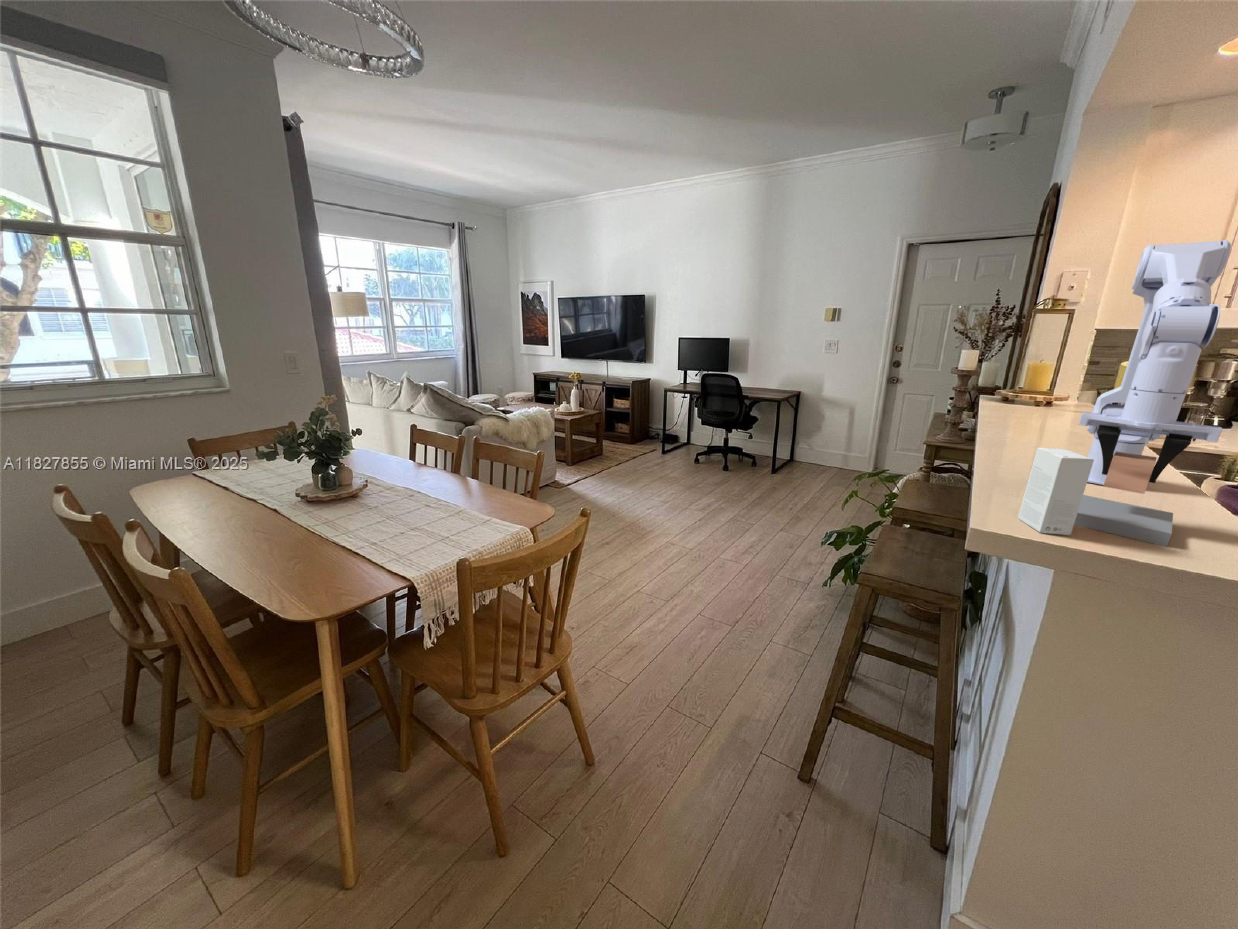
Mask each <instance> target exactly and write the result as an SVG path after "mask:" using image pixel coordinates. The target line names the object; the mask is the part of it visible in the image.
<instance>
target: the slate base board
mask: <svg viewBox="0 0 1238 929" xmlns="http://www.w3.org/2000/svg"><path fill="white" fill-rule="evenodd" d="M1173 517H1174V513H1173V512H1170V511H1166V510H1165V511H1164V510H1161V509H1160V510H1159V509H1155V508H1150V507H1145V506H1141V505H1140V506H1139V505H1135V504H1131V503H1125V502H1120V501H1115V500H1111V499H1105V498H1101V497H1100V498H1099V497H1096V496H1090V495H1086V494H1083V497H1082V500H1081V503H1080V506H1079V510H1078V513H1077V516H1076V519H1075V522H1074V525H1075V526H1077V527H1083V528H1086V529H1092V530H1096V531H1101V532H1104V533H1108V534H1112V535H1116V536H1117V535H1118V536H1120V537H1126V538H1130V539H1133V540H1137V541H1143V542H1146V543H1150V544H1155V545H1159V546H1162V547H1168V544H1169V541H1170V539H1171V536H1172V534H1173V532H1172V531H1173V521H1174V520H1173Z"/></svg>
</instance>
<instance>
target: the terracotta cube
mask: <svg viewBox="0 0 1238 929" xmlns="http://www.w3.org/2000/svg"><path fill="white" fill-rule="evenodd" d="M1157 460H1158V457H1156V456H1150V455H1143V454H1142V455H1138V454H1131V453H1124V452H1117V451H1116V452H1115V454H1114V456H1113V458H1112V461H1111V464H1110V467H1109V471H1108V474H1107V477H1106V480H1105V483H1104V485H1103V487H1105V488H1111V489H1115V490H1122V491H1127V492H1132V493H1137V494H1142V495H1145V494H1146V491H1147V487H1148V484H1149V480H1150V477H1151V474H1152V471H1153V468H1154V466H1155V464H1156V462H1157Z"/></svg>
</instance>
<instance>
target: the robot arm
mask: <svg viewBox="0 0 1238 929" xmlns="http://www.w3.org/2000/svg"><path fill="white" fill-rule="evenodd" d="M1231 249H1232V243H1231V242H1230V241H1229V240H1228V239H1223V240H1219V241H1203V242H1186V243H1170V244H1169V243H1168V244H1167V243H1166V244H1156V245H1155V244H1148V245H1147V246H1146V247H1144V249H1143V251H1142V253H1141V255H1140V259H1139V261H1138V265H1137V269H1136V272H1135V275H1134V280H1133V282H1132V283H1133V284H1132V287H1131V288H1132V294H1133V295H1135V296H1137V297H1140V298H1143V305H1144V311H1143V313H1142V317H1141V320H1140V324H1139V327H1138V330H1137V333H1136V337H1135V339H1134V342H1133V346H1132V349H1131V352H1130V355H1129V359H1128V363H1127V365H1126V369H1125V371H1124V375H1123V378H1122V380H1121V383H1120V385H1119V387H1116V388H1114V389H1111V390H1108V391H1106V392H1104V393H1101V394H1100V395H1099V396H1098V397H1097V398H1096V402H1095V404H1094V406H1093V408H1092V410H1091V412H1085V411H1083V412H1082V413H1081V415H1080V418H1079V422H1078V425H1079V426H1083V427H1087V428H1086V429H1087V430H1086V431H1087V432H1088V433H1089V434H1091V435H1093V439H1092V441H1091V445H1090V447H1089V451H1088V453H1087V454H1088V455H1087V457H1088V458H1091V459H1094V462H1093V465H1092V468H1091V471H1090V474H1089V478H1088V481H1087V483H1090V484H1094V485H1095V484H1096V485H1101V486H1104V483H1105V480H1106V477H1107V474H1108V471H1109V467H1110V464H1111V461H1112V458H1113V456H1114V454H1115V452H1116V451H1117V452H1124V453H1131V454H1138V455H1143V453H1144V449H1145V446H1146V445H1148V444H1149V442H1150V441H1151V442H1154V441H1155V440H1157V439H1159V438H1160V436H1165V437H1164V440H1163V443H1162V446H1161V449H1160V452H1159V455H1158V457H1157V459H1156V463H1155V465H1154V468H1153V471H1152V474H1151V477H1150V480H1149V482H1148V484H1149V483H1150V484H1156V482H1157V479H1159V476H1160V475H1161V474H1162V472H1163V471H1164V470H1165V468H1167V466H1168V465H1169V464H1170V463H1172V461H1173V460H1174V459H1175V458H1176V457H1177V456H1178V455H1179V454H1181V452H1183V451H1184V450H1185V449H1187V448H1188V447H1189V446H1190V445H1191V443H1192V439H1193V440H1194V439H1195V440H1202V441H1206V442H1213V443H1218V441H1219V439H1220V436H1221V433H1222V432H1223V427H1221V426H1214V425H1206V424H1198V423H1190V422H1185V421H1177V420H1178V416H1179V414H1180V412H1181V408H1182V405H1183V403H1184V400H1185V397H1186V394H1187V392H1188V389H1189V388H1190V387H1189V386H1190V383H1191V381H1192V377H1193V375H1194V373H1195V369H1196V367H1197V365H1198V361H1199V357H1200V356H1201V353H1202V349H1205V348H1207V346H1208V345H1209V343H1210V342H1211V340H1212V339H1213V337H1214V335H1215V332H1216V330H1217V328H1218V324H1219V323H1220V322H1219V321H1220V317H1221V306H1220V304H1215V303H1213V304H1212V287H1213V285H1214V283H1215V282H1216V281H1217V279H1218V278H1219V277H1220V276H1221V275H1222V273H1223V272H1224V269H1225V267H1226V264H1227V262H1228V260H1229V257H1230V253H1231ZM1200 346H1202V348H1201V347H1200ZM1113 403H1114V404H1113ZM1115 403H1116V404H1115ZM1117 403H1120V404H1117Z"/></svg>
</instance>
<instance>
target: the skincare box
mask: <svg viewBox="0 0 1238 929" xmlns="http://www.w3.org/2000/svg"><path fill="white" fill-rule="evenodd" d="M1093 462H1094V459H1091V458H1088V456H1085V455H1082V454H1080V453H1077V452H1074V451H1071V450H1068V449H1062V448H1049V447H1048V448H1047V447H1037V448H1036V452H1035V456H1034V458H1033V463H1032V466H1031V470H1030V473H1029V477H1028V480H1027V483H1026V487H1025V491H1024V494H1023V497H1022V502H1021V505H1020V509H1019V512H1018V517H1017V519H1018V520H1020V521H1022V522H1023V523H1025V524H1026V525H1027V526H1029V527H1031V528H1032V529H1034V530H1036V532H1039V533H1040V534H1050V535H1063V536H1071V535H1072V532H1073V528H1074V522H1075V519H1076V516H1077V513H1078V510H1079V506H1080V503H1081V500H1082V497H1083V495H1085V494H1084V493H1085V490H1086V486H1087V483H1088V482H1087V481H1088V478H1089V474H1090V471H1091V468H1092V465H1093Z"/></svg>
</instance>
